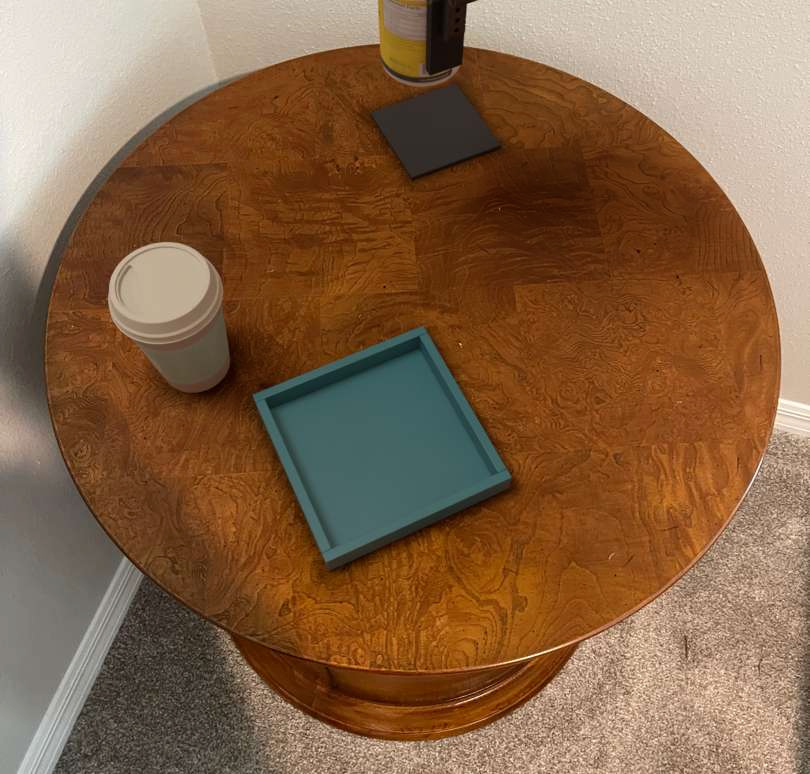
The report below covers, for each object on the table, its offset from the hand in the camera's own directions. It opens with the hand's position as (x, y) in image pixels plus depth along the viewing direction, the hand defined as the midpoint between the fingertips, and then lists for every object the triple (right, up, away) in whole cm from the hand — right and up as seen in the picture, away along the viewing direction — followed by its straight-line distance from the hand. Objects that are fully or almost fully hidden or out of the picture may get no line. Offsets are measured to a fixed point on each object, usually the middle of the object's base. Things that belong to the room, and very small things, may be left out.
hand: (422, 37), depth 63 cm
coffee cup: (-19, -25, +9) cm, 33 cm away
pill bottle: (0, -1, +2) cm, 2 cm away
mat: (+2, 0, +22) cm, 22 cm away
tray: (-3, -32, +4) cm, 32 cm away
